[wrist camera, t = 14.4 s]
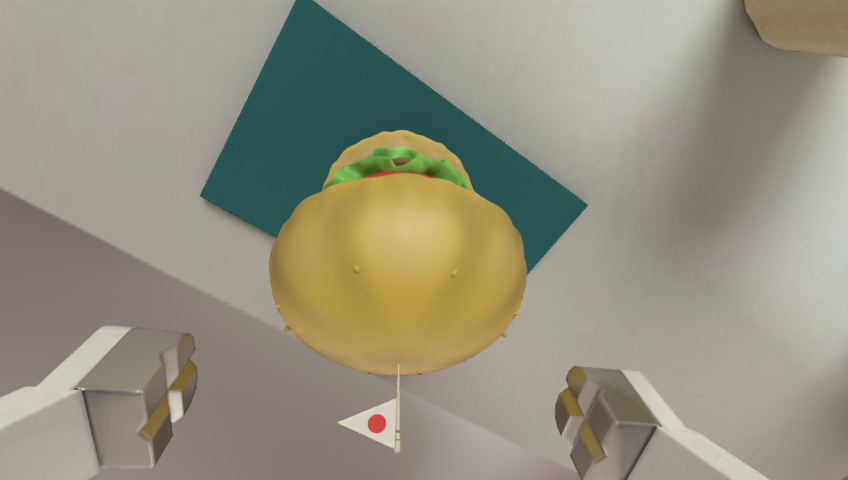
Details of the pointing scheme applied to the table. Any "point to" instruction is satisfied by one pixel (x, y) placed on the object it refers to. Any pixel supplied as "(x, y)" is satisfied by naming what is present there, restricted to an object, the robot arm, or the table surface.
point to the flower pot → (802, 24)
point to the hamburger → (397, 267)
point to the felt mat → (362, 133)
